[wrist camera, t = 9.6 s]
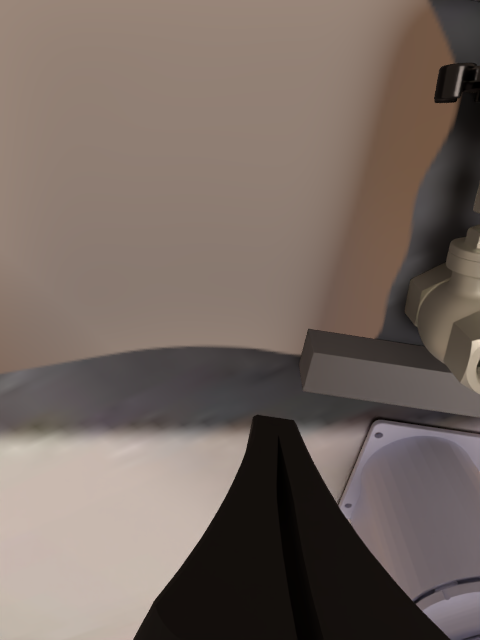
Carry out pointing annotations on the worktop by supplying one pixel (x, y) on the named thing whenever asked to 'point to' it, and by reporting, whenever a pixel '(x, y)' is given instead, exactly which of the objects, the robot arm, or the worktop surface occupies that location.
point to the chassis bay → (382, 373)
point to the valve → (452, 272)
